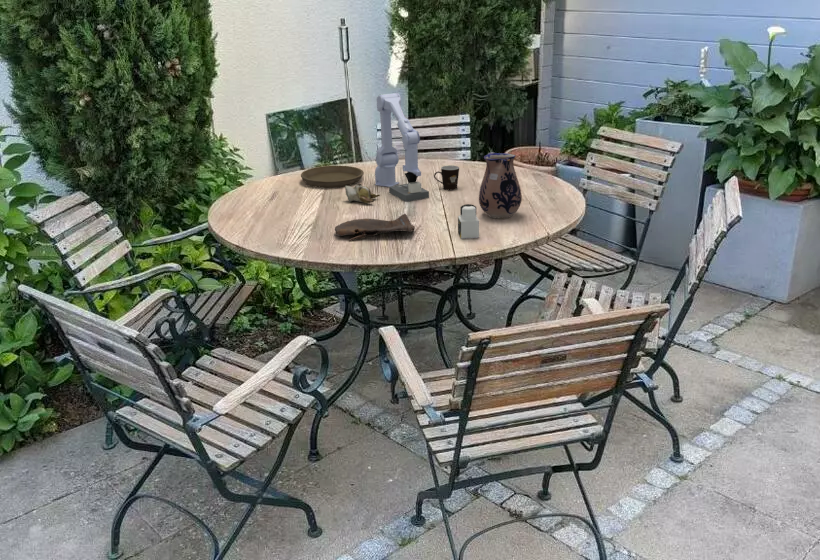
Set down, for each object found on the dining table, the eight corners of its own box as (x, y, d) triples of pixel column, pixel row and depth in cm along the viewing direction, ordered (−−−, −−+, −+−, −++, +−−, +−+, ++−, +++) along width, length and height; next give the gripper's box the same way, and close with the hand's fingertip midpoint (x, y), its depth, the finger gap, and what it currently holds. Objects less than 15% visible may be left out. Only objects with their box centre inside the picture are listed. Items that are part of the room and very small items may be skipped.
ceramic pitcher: (494, 224, 288) (495, 163, 278) (466, 211, 305) (466, 153, 296) (529, 217, 295) (531, 157, 286) (500, 204, 313) (501, 147, 303)
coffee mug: (459, 186, 343) (459, 165, 339) (459, 191, 335) (459, 169, 331) (435, 185, 344) (435, 165, 340) (434, 190, 336) (433, 169, 332)
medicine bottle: (457, 233, 280) (457, 203, 275) (475, 232, 281) (476, 202, 276) (460, 239, 274) (460, 208, 269) (479, 238, 274) (479, 207, 269)
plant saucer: (376, 177, 362) (375, 168, 360) (338, 193, 338) (337, 183, 336) (327, 171, 378) (327, 162, 376) (288, 185, 354) (287, 176, 352)
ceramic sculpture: (349, 178, 326) (380, 182, 323) (349, 197, 330) (380, 200, 327) (341, 185, 317) (373, 188, 314) (341, 204, 320) (373, 207, 317)
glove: (333, 243, 274) (332, 230, 272) (336, 226, 293) (335, 214, 291) (416, 239, 275) (415, 227, 273) (413, 223, 294) (413, 211, 292)
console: (389, 193, 335) (388, 186, 334) (412, 189, 340) (411, 182, 339) (405, 201, 321) (405, 195, 320) (429, 197, 326) (428, 191, 324)
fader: (408, 191, 324) (408, 182, 322) (418, 190, 326) (418, 181, 324) (411, 193, 322) (411, 184, 320) (421, 191, 324) (421, 182, 322)
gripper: (396, 156, 325) (397, 185, 330) (410, 163, 313) (411, 193, 318) (410, 154, 328) (410, 183, 333) (425, 161, 316) (425, 191, 321)
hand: (412, 188), depth 326 cm, fingers closed
